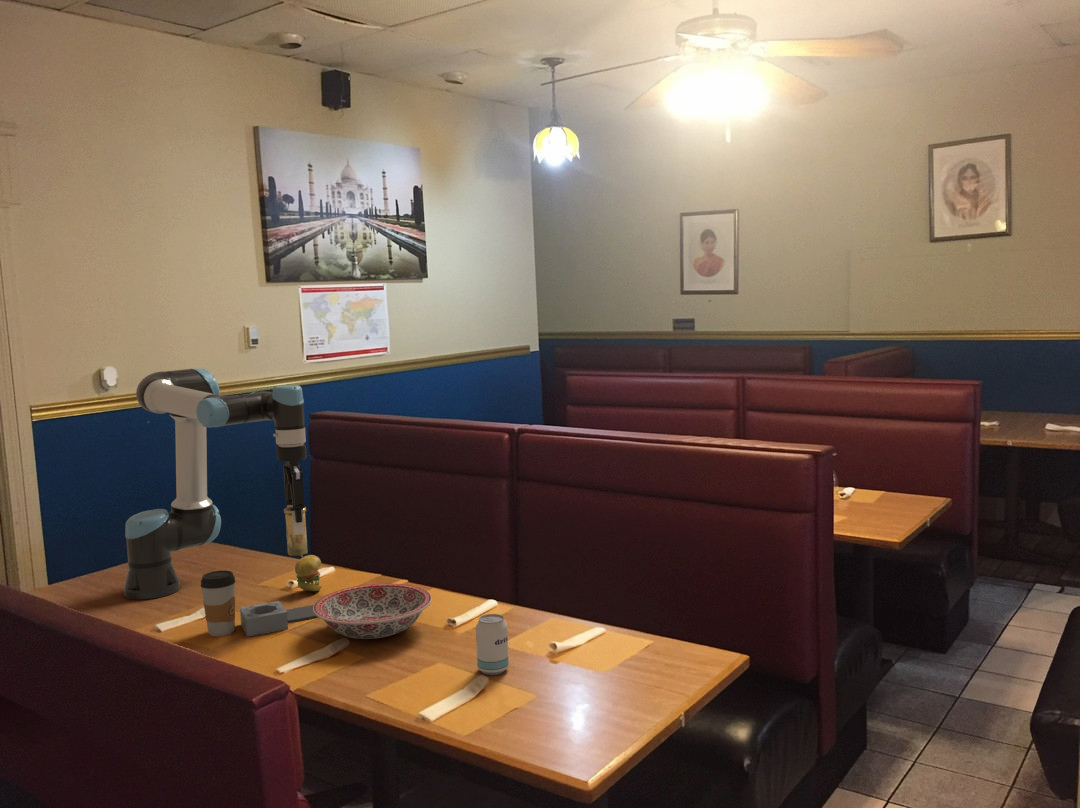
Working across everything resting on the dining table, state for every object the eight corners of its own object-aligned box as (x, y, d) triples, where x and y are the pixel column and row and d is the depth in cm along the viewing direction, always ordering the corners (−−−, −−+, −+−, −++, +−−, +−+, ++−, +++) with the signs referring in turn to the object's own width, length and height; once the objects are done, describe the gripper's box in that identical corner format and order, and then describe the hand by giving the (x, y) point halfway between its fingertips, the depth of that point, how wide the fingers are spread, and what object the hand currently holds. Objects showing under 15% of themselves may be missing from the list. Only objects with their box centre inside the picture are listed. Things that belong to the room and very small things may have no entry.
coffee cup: (227, 638, 220) (223, 580, 219) (197, 637, 222) (193, 579, 220) (245, 626, 229) (241, 570, 227) (215, 625, 230) (211, 569, 229)
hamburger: (328, 590, 256) (326, 550, 255) (309, 598, 250) (307, 556, 249) (309, 586, 260) (307, 547, 259) (290, 594, 254) (288, 553, 253)
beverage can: (497, 679, 192) (495, 625, 190) (471, 673, 195) (469, 620, 194) (514, 668, 197) (513, 615, 196) (489, 662, 201) (487, 611, 200)
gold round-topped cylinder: (284, 552, 236) (282, 507, 234) (306, 548, 238) (303, 505, 237) (289, 557, 231) (286, 512, 229) (310, 553, 233) (308, 509, 232)
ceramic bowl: (454, 620, 229) (453, 590, 228) (389, 662, 203) (388, 628, 202) (361, 607, 241) (360, 578, 240) (289, 645, 215) (287, 613, 214)
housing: (241, 624, 230) (239, 607, 230) (280, 617, 235) (279, 600, 234) (247, 636, 222) (246, 619, 221) (288, 628, 226) (286, 611, 226)
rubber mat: (281, 612, 238) (281, 610, 238) (315, 606, 243) (315, 604, 242) (288, 622, 231) (288, 620, 230) (323, 616, 235) (322, 614, 234)
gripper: (269, 441, 238) (275, 526, 240) (283, 450, 221) (288, 541, 224) (298, 438, 241) (303, 522, 244) (313, 447, 225) (318, 537, 227)
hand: (296, 531), depth 234 cm, fingers closed on gold round-topped cylinder, 6 cm apart
